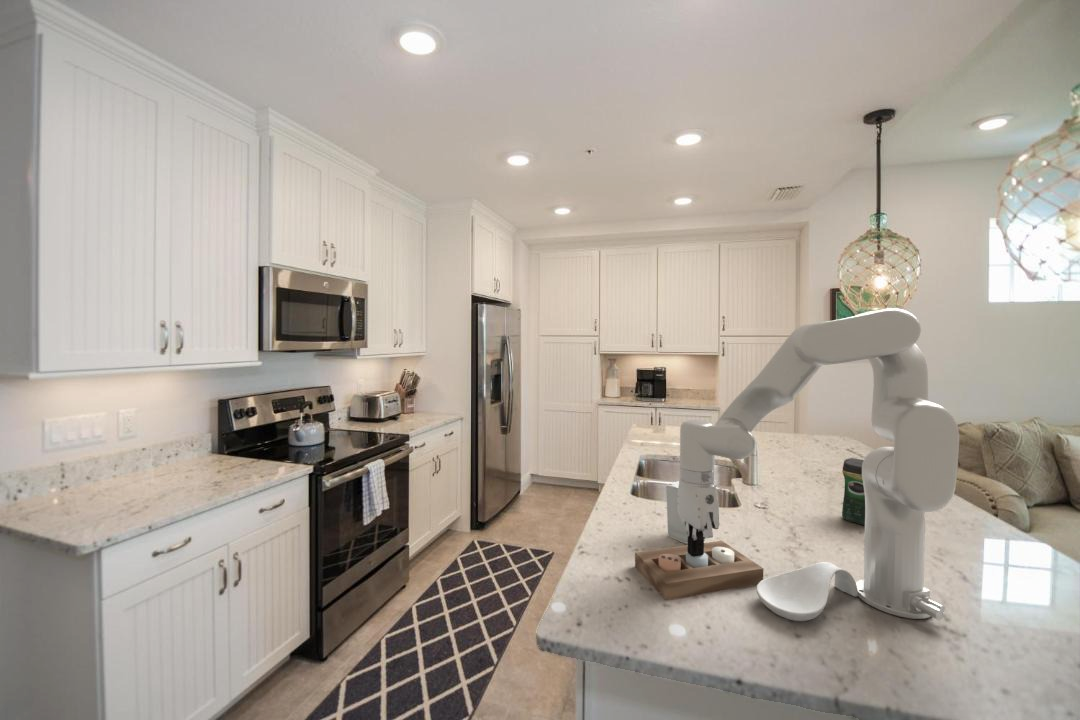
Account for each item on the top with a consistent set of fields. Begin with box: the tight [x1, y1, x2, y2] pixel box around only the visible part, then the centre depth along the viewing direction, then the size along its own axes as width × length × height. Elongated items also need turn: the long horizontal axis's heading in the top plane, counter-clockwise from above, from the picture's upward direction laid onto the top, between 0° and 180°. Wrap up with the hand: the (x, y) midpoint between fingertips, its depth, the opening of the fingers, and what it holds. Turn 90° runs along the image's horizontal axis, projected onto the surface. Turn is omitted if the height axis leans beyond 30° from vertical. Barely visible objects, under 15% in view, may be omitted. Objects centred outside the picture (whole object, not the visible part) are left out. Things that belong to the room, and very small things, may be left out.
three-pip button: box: [659, 554, 681, 572], centre depth 97 cm, size 5×5×5 cm
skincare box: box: [665, 480, 706, 545], centre depth 117 cm, size 8×6×15 cm
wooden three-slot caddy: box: [634, 540, 764, 601], centre depth 99 cm, size 14×24×4 cm, turn 104°
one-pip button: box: [712, 547, 734, 564], centre depth 100 cm, size 5×5×5 cm
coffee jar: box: [841, 457, 865, 526], centre depth 128 cm, size 10×8×19 cm
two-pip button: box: [686, 552, 708, 568], centre depth 99 cm, size 5×5×5 cm
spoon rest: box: [756, 561, 859, 622], centre depth 87 cm, size 24×12×7 cm, turn 114°
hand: (695, 554), depth 99 cm, fingers closed
